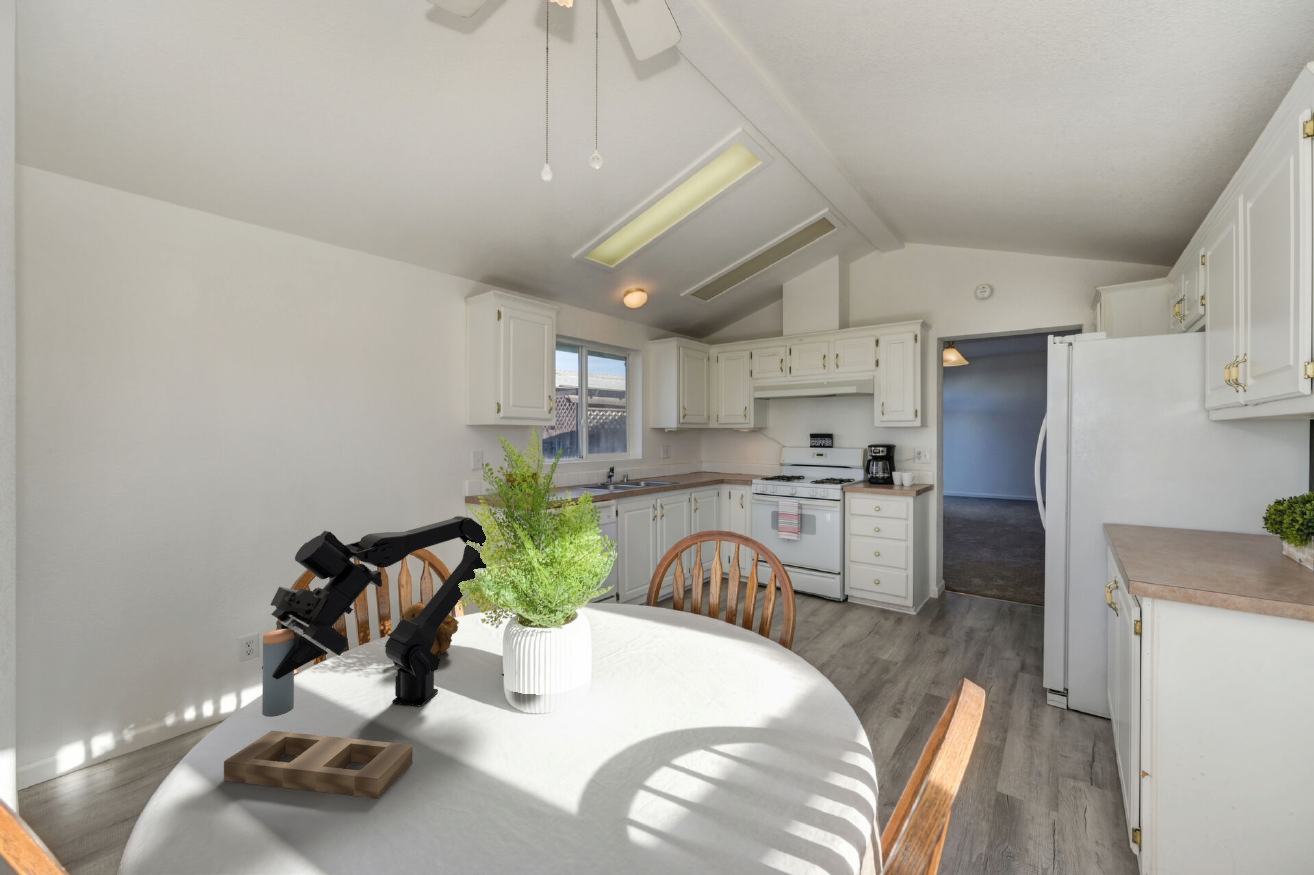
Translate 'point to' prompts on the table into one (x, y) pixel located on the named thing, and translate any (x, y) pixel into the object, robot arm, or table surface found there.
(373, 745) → the wooden peg holder
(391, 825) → the table surface
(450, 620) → the stuffed squirrel
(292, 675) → the peg
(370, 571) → the robot arm
